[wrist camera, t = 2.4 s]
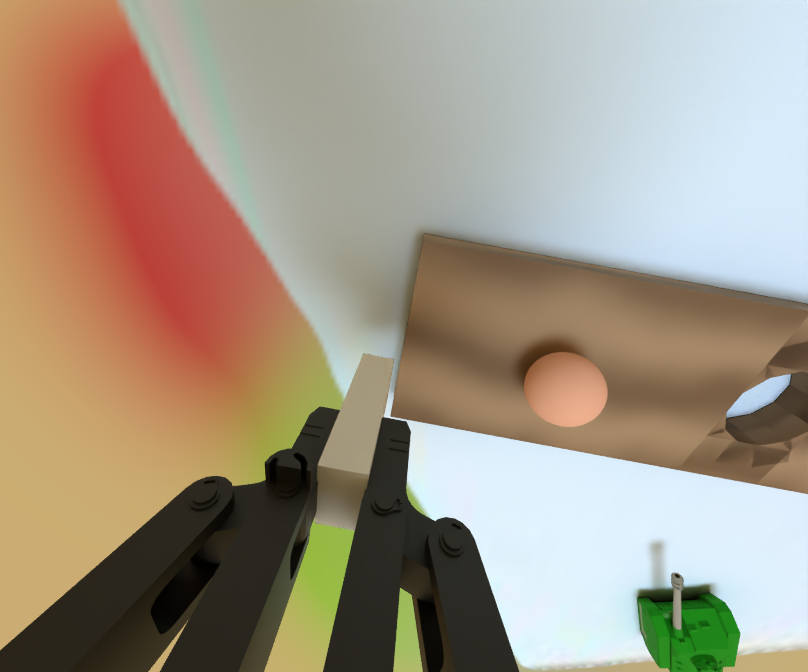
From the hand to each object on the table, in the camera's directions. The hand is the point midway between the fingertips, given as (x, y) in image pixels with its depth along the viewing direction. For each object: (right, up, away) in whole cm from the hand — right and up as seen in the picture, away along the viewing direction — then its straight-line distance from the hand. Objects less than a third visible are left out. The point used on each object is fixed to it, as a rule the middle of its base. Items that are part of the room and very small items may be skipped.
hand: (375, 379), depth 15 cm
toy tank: (+30, -25, +17) cm, 42 cm away
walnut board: (+16, 0, +5) cm, 17 cm away
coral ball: (+10, -1, +1) cm, 10 cm away
